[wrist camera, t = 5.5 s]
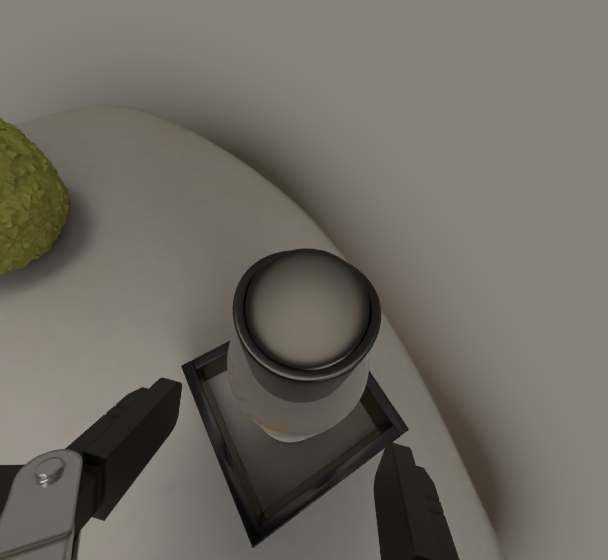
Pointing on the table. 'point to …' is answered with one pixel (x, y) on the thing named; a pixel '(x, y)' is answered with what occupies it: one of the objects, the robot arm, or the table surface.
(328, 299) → the lotion bottle
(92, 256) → the table surface
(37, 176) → the fruit
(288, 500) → the holder
